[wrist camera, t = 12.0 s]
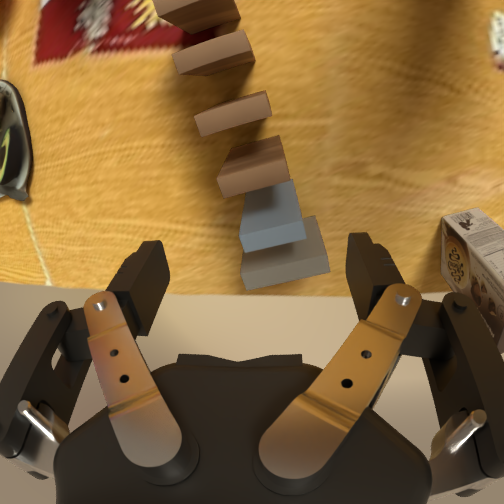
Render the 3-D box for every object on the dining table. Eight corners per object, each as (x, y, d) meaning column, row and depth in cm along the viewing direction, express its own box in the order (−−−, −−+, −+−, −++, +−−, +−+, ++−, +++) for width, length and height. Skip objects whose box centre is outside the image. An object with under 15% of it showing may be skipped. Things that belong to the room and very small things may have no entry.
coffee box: (474, 261, 35) (532, 340, 22) (439, 273, 37) (491, 361, 23) (478, 205, 31) (555, 278, 17) (440, 215, 32) (513, 299, 19)
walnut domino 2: (201, 61, 25) (171, 54, 17) (250, 46, 24) (243, 29, 16) (206, 76, 26) (178, 74, 18) (255, 60, 25) (250, 50, 17)
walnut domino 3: (216, 104, 28) (193, 116, 19) (265, 90, 27) (265, 93, 18) (221, 119, 28) (201, 137, 20) (270, 105, 27) (272, 116, 19)
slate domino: (246, 190, 32) (238, 235, 24) (292, 178, 31) (302, 220, 23) (250, 203, 33) (244, 252, 25) (296, 192, 32) (306, 238, 24)
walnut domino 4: (231, 148, 30) (216, 178, 21) (279, 135, 29) (284, 159, 20) (236, 162, 31) (223, 198, 22) (283, 149, 30) (290, 180, 21)
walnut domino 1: (186, 21, 23) (152, -1, 14) (236, 5, 22) (222, -27, 13) (191, 34, 24) (158, 16, 15) (240, 18, 23) (229, -10, 14)
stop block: (245, 232, 35) (240, 274, 28) (315, 215, 33) (327, 254, 27) (250, 247, 36) (246, 290, 29) (318, 231, 34) (330, 272, 28)
